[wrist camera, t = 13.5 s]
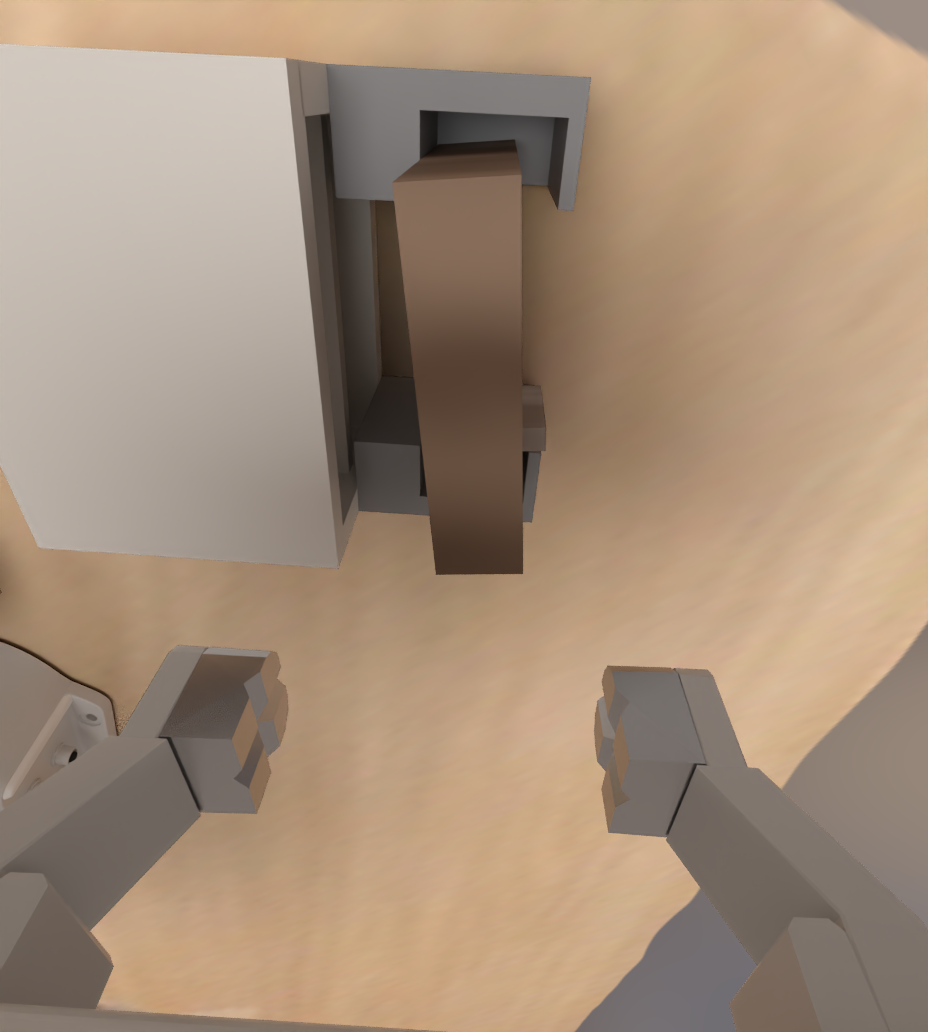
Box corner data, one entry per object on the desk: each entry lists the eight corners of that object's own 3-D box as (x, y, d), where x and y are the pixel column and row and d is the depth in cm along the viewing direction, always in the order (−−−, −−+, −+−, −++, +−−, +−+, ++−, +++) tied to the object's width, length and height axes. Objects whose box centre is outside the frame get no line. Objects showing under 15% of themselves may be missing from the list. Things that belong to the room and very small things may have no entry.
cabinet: (527, 446, 32) (535, 582, 23) (166, 423, 33) (38, 548, 24) (570, 80, 23) (610, 74, 14) (65, 54, 24) (-203, 33, 15)
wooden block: (537, 417, 30) (552, 573, 21) (458, 419, 31) (436, 574, 21) (540, 137, 23) (565, 172, 14) (438, 144, 24) (391, 182, 14)
